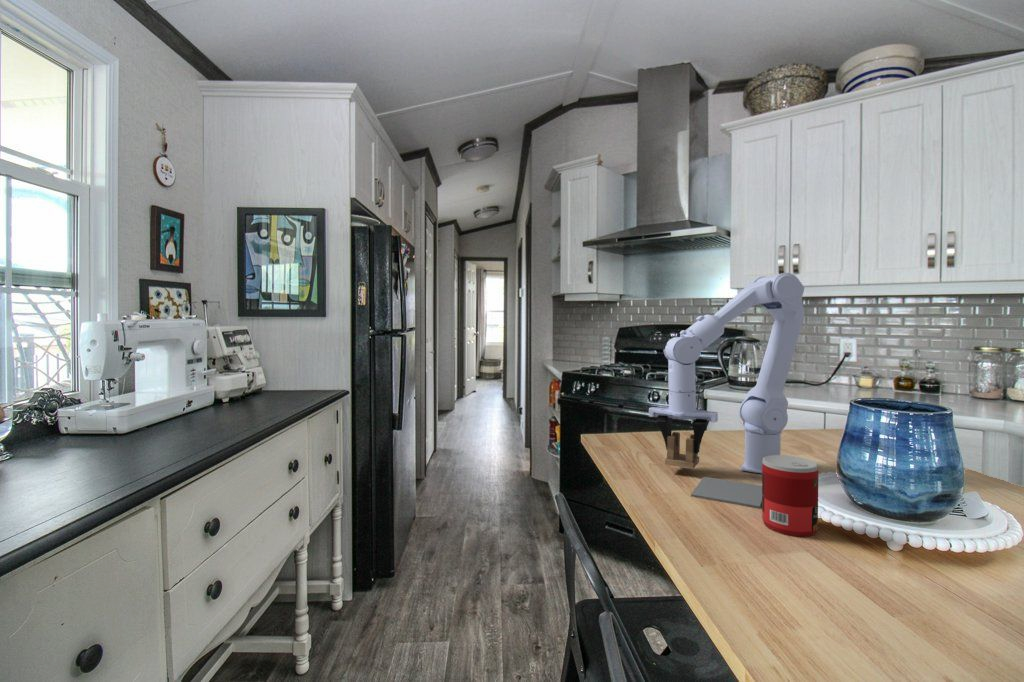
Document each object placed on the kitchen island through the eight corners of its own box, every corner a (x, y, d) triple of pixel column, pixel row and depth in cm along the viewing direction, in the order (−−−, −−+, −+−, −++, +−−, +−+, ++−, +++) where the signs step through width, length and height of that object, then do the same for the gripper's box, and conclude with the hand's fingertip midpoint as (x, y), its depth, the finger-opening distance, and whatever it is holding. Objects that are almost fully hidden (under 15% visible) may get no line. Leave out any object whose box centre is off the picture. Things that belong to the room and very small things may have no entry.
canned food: (826, 539, 74) (827, 469, 74) (770, 535, 76) (770, 467, 75) (806, 519, 82) (807, 455, 81) (756, 516, 83) (756, 453, 83)
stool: (672, 457, 112) (672, 431, 111) (699, 461, 108) (699, 435, 108) (665, 464, 107) (665, 436, 106) (693, 469, 103) (693, 440, 103)
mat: (703, 478, 103) (703, 476, 103) (766, 488, 97) (766, 486, 97) (690, 496, 93) (690, 494, 93) (759, 508, 87) (759, 506, 87)
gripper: (644, 391, 107) (645, 450, 108) (713, 395, 99) (713, 459, 100) (653, 387, 113) (654, 443, 114) (719, 390, 105) (719, 451, 106)
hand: (682, 450), depth 107 cm, fingers closed on stool, 5 cm apart
